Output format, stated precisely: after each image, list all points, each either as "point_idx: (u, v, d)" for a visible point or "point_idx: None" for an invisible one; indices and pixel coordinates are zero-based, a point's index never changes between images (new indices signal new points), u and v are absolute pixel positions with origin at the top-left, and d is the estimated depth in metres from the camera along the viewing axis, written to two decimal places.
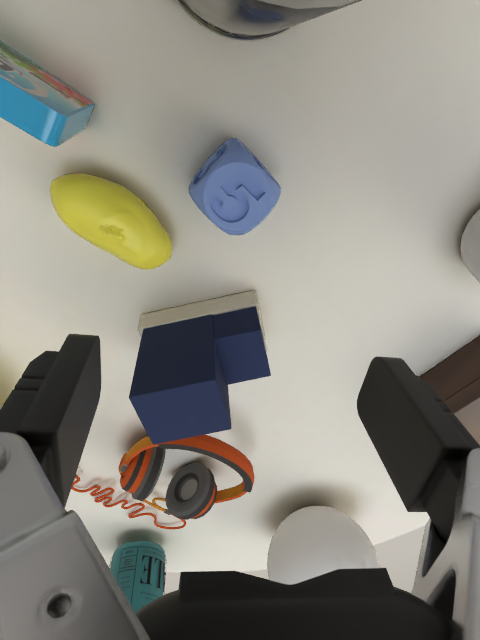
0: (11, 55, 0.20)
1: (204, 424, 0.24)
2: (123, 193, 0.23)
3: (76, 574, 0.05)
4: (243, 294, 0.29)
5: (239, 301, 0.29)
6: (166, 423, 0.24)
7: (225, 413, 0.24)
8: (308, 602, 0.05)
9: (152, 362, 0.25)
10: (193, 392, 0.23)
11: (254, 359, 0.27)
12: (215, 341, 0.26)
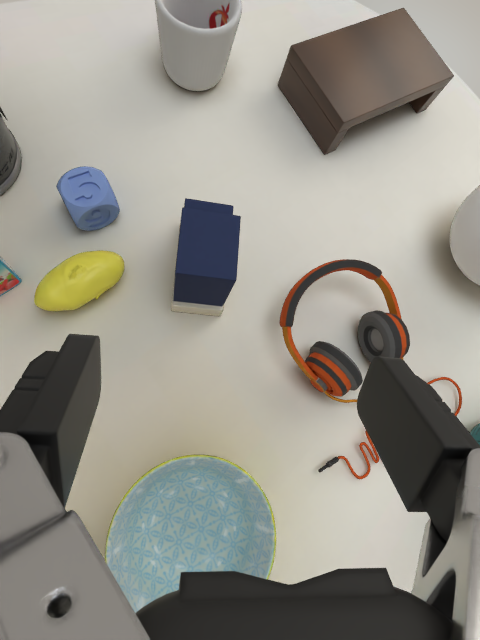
0: None
1: (227, 232, 0.29)
2: None
3: (76, 574, 0.05)
4: None
5: None
6: (214, 259, 0.28)
7: (221, 214, 0.29)
8: (307, 601, 0.05)
9: None
10: (189, 226, 0.29)
11: (211, 211, 0.34)
12: None
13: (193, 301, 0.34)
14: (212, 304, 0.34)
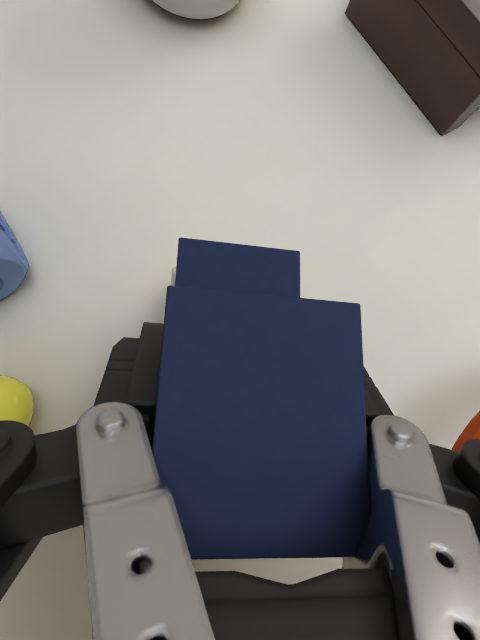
0: None
1: (324, 366, 0.08)
2: None
3: (159, 542, 0.05)
4: None
5: None
6: (288, 477, 0.08)
7: (298, 300, 0.09)
8: (308, 601, 0.05)
9: None
10: (193, 355, 0.08)
11: (247, 268, 0.13)
12: None
13: None
14: None
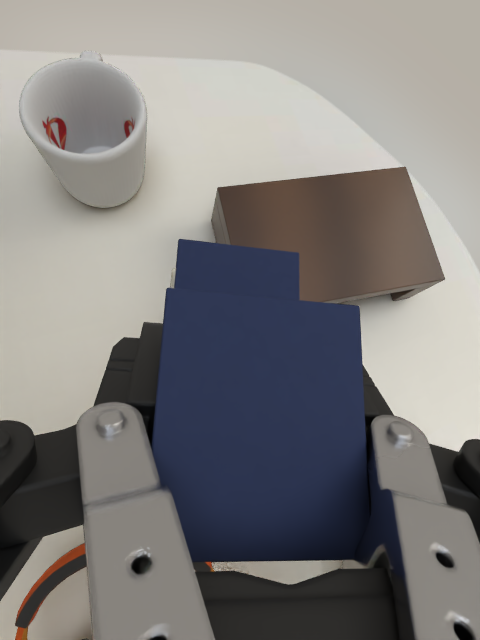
0: None
1: (323, 368, 0.08)
2: None
3: (159, 542, 0.05)
4: None
5: None
6: (287, 480, 0.08)
7: (298, 302, 0.09)
8: (308, 601, 0.05)
9: None
10: (191, 357, 0.08)
11: (247, 270, 0.13)
12: None
13: None
14: None
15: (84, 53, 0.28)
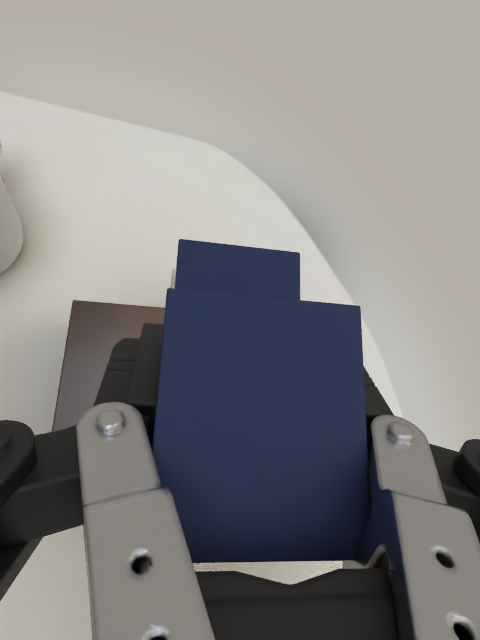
0: None
1: (324, 369, 0.08)
2: None
3: (159, 542, 0.05)
4: None
5: None
6: (288, 480, 0.08)
7: (298, 302, 0.09)
8: (308, 602, 0.05)
9: None
10: (192, 358, 0.08)
11: (247, 270, 0.13)
12: None
13: None
14: None
15: None
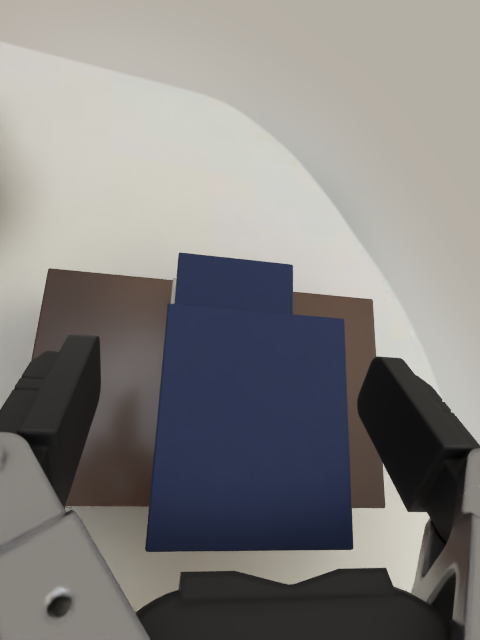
0: None
1: (310, 377, 0.09)
2: None
3: (76, 574, 0.05)
4: None
5: None
6: (277, 477, 0.09)
7: (287, 316, 0.10)
8: (308, 601, 0.05)
9: None
10: (190, 367, 0.09)
11: (243, 281, 0.14)
12: None
13: None
14: None
15: None
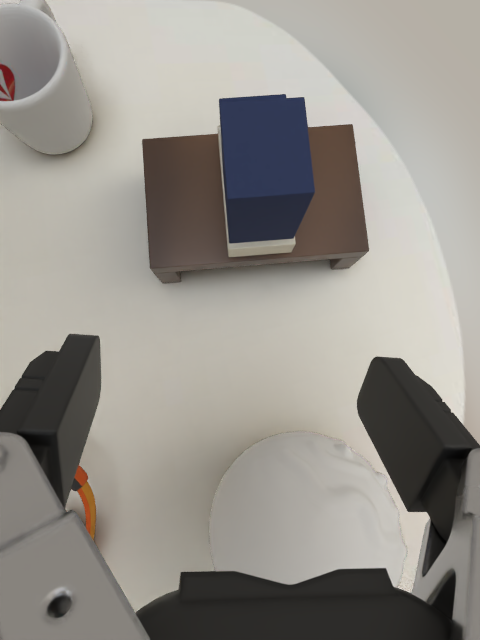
0: None
1: (289, 125, 0.20)
2: None
3: (76, 574, 0.05)
4: (219, 150, 0.29)
5: (219, 148, 0.28)
6: (278, 168, 0.20)
7: (275, 100, 0.20)
8: (307, 601, 0.05)
9: (226, 200, 0.22)
10: (234, 128, 0.20)
11: None
12: None
13: (255, 238, 0.26)
14: (280, 238, 0.26)
15: None
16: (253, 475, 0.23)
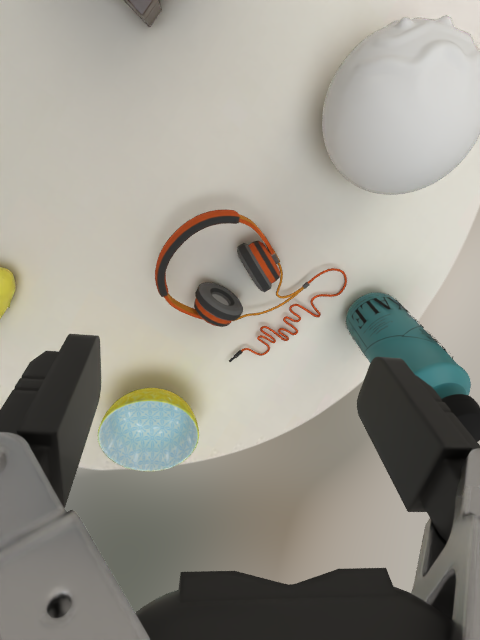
0: None
1: None
2: None
3: (76, 574, 0.05)
4: None
5: None
6: None
7: None
8: (307, 602, 0.05)
9: None
10: None
11: None
12: None
13: None
14: None
15: None
16: (350, 102, 0.27)
